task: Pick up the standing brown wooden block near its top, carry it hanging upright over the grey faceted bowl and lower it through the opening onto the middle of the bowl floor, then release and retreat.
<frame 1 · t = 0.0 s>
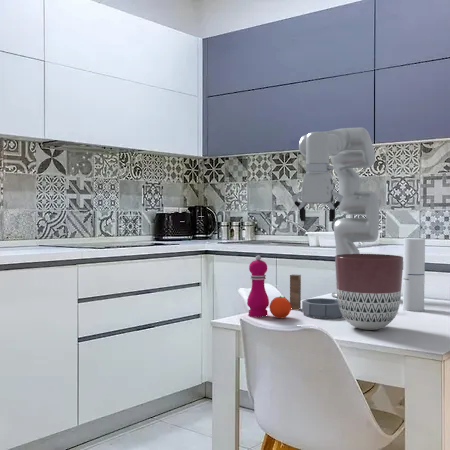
hand: (317, 221, 193), 31 cm above the table, fingers open, 9 cm apart
clementine: (280, 318, 189), on the table
grey faceted bowl: (323, 314, 194), on the table
brown wooden block: (295, 308, 205), on the table
planter: (368, 329, 172), on the table
pepper mill: (257, 316, 192), on the table
cylindrical container: (413, 310, 205), on the table
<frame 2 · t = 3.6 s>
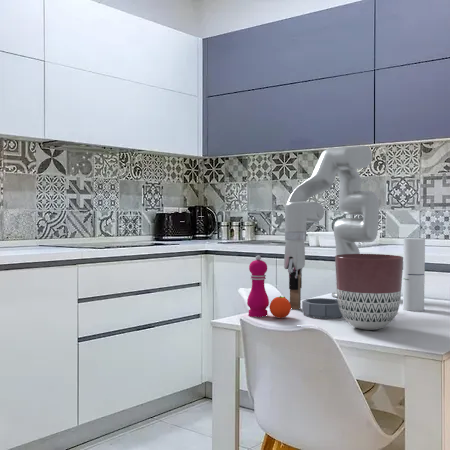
hand: (295, 288, 205), 7 cm above the table, fingers closed on brown wooden block, 3 cm apart
brown wooden block: (295, 308, 205), on the table, touching gripper
everything else where it was.
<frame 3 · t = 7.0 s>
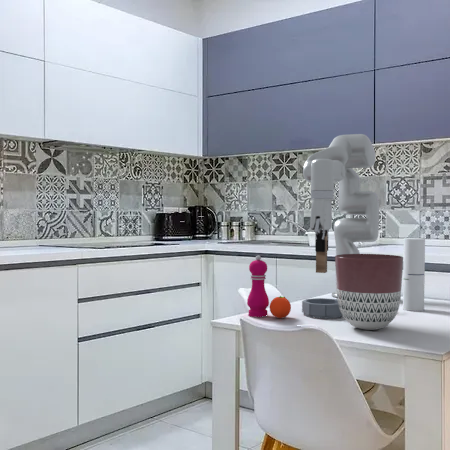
hand: (321, 250, 194), 21 cm above the table, fingers closed on brown wooden block, 3 cm apart
brown wooden block: (321, 272, 194), point 14 cm above the table, touching gripper
everything else where it was.
when the fingers open (8 cm above the table, at t = 10.7 s): brown wooden block stays where it is, resting on grey faceted bowl.
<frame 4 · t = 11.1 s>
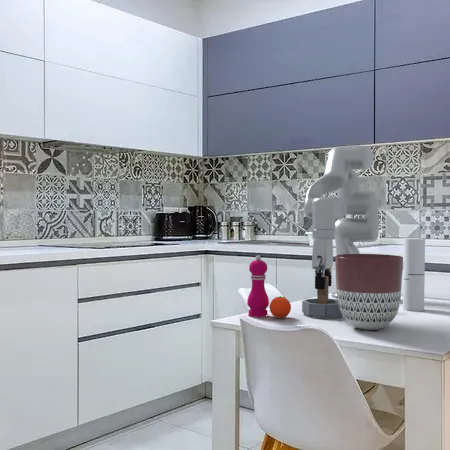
hand: (323, 287, 194), 9 cm above the table, fingers open, 7 cm apart
brown wooden block: (322, 312, 194), point 1 cm above the table, touching grey faceted bowl
everything else where it was.
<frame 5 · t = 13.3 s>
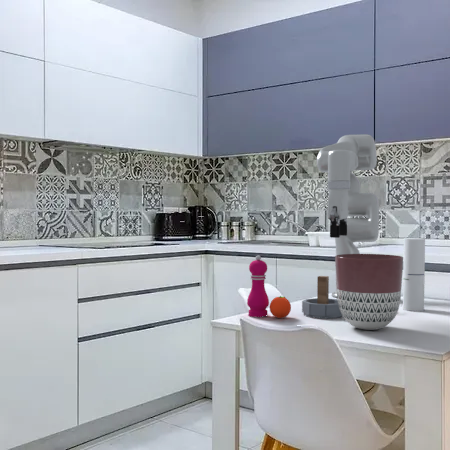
hand: (338, 236, 199), 26 cm above the table, fingers open, 9 cm apart
nothing on the table moved.
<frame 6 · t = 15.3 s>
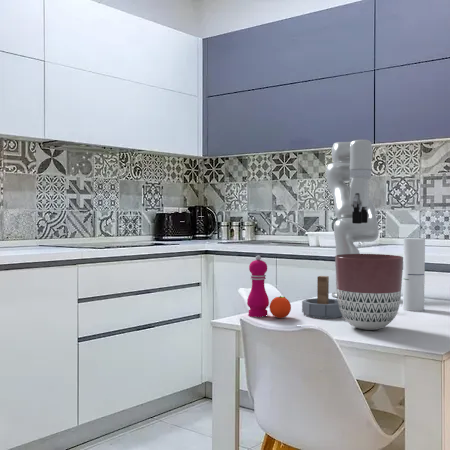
hand: (360, 223, 207), 30 cm above the table, fingers open, 9 cm apart
nothing on the table moved.
at the end: brown wooden block 0.1 cm off-centre on the grey faceted bowl, point 0.8 cm above the grey faceted bowl's base; brown wooden block tilted 0°; the gripper is holding nothing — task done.
